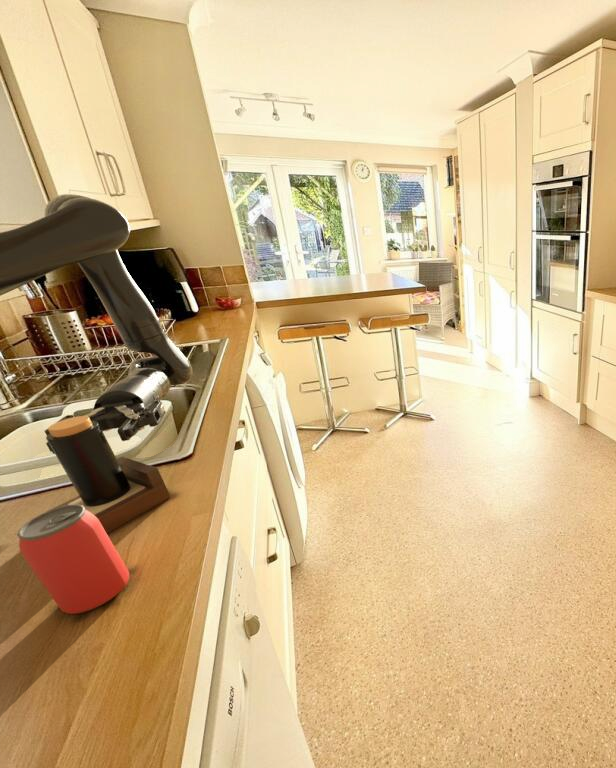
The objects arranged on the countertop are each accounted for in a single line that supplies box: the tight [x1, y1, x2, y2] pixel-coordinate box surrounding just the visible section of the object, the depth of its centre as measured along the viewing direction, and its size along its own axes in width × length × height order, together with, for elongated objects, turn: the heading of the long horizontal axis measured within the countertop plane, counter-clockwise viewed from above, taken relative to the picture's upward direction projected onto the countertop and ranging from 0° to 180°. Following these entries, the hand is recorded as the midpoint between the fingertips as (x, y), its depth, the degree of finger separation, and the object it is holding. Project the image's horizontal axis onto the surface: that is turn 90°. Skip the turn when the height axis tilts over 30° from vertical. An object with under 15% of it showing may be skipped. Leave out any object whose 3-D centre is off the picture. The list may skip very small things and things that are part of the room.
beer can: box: [16, 505, 130, 615], centre depth 50 cm, size 7×7×12 cm
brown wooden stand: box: [46, 456, 171, 534], centre depth 66 cm, size 10×11×6 cm
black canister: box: [45, 415, 131, 506], centre depth 63 cm, size 6×6×13 cm
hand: (88, 442), depth 64 cm, fingers open, 8 cm apart
